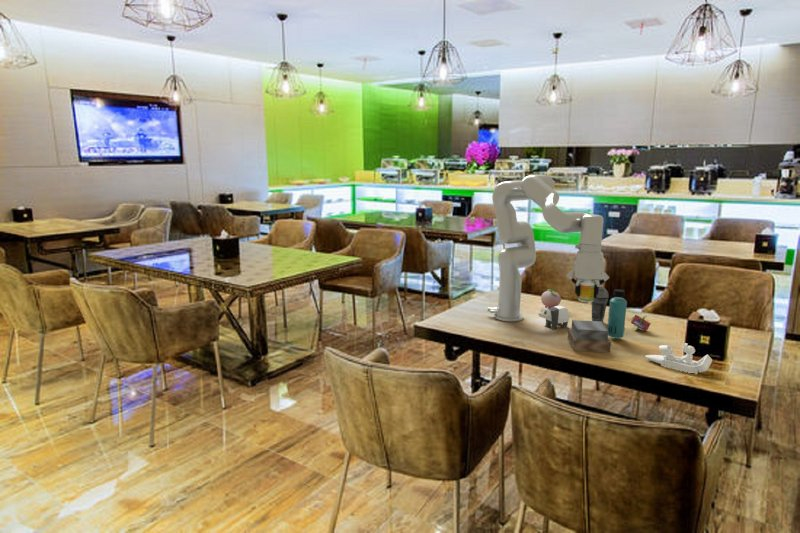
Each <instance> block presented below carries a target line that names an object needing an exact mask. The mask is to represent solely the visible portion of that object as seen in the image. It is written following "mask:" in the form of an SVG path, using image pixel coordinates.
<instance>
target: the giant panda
mask: <svg viewBox="0 0 800 533" xmlns="http://www.w3.org/2000/svg"><path fill="white" fill-rule="evenodd" d="M538 316H539V317H540V318H542V319H545V325H544V327H545V328H550V330H556V329H557V327H558V326H560V327H561V328H562V329H563V328H567V327H568V324H569V321H570V312H569V309H568V308H567V307H565V306H561V305H558V306H555V307H552V308H549V307H546V306H545V305H544V307H543V308H542V309H541V310H540V312H539V313H538Z"/></svg>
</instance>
